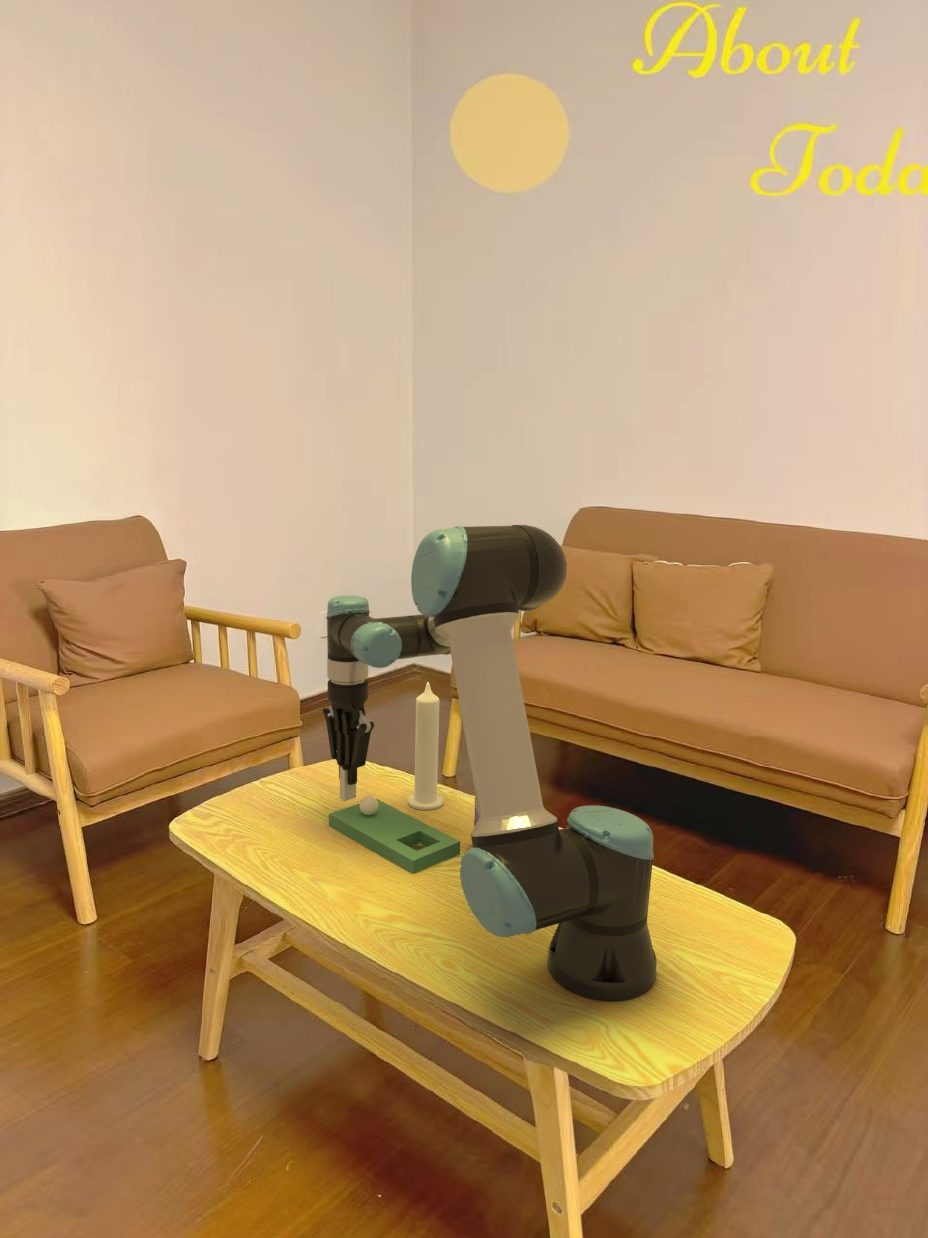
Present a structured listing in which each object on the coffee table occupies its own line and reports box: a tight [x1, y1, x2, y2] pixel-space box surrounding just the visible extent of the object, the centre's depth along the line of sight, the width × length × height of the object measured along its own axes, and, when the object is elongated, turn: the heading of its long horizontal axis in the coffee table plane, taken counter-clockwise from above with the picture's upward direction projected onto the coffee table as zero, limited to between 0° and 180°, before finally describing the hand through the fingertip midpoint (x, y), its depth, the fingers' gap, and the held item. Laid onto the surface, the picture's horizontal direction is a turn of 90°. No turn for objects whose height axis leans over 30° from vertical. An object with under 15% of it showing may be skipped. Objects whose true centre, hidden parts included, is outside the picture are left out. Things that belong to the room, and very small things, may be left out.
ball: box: [359, 795, 378, 815], centre depth 173 cm, size 4×4×4 cm
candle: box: [407, 681, 444, 811], centre depth 182 cm, size 7×7×25 cm
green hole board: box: [328, 797, 461, 875], centre depth 168 cm, size 24×11×2 cm, turn 44°
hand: (348, 798), depth 177 cm, fingers closed
